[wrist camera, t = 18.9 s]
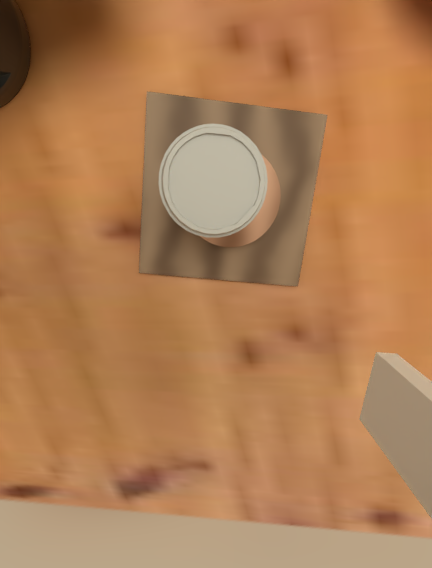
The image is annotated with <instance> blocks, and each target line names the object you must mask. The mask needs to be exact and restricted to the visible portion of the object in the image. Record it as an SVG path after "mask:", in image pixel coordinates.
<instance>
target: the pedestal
mask: <svg viewBox="0 0 432 568" xmlns="http://www.w3.org/2000/svg"><path fill="white" fill-rule="evenodd" d="M326 120H327V115H324V114H316V113H309V112H301V111H293V110H286V109H278V108H270V107H262V106H255V105H247V104H239V103H232V102H224V101H216V100H209V99H201V98H193V97H185V96H178V95H170V94H162V93H155V92H147V102H146V125H145V148H144V171H143V193H142V216H141V239H140V262H139V273H147V274H159V275H170V276H182V277H194V278H206V279H217V280H229V281H241V282H252V283H264V284H276V285H287V286H298V283H299V277H300V271H301V265H302V260H303V254H304V248H305V242H306V236H307V231H308V225H309V219H310V213H311V207H312V202H313V196H314V190H315V184H316V178H317V173H318V167H319V161H320V155H321V149H322V144H323V138H324V132H325V126H326ZM204 124H222V125H226V126H230V127H232V128H234V129H237V130H239V131H241V132H242V133H243V134H245V135H246V136H247V137H248V138H250V139H251V141H252V142H253V143H254V144H255V145H256V146H257V148H258V150H259V151H260V153H261V155H262V157H263V160H264V163H265V166H266V170H267V178H268V181H267V192H266V196H265V200H264V202H263V205H262V207H261V209H260V211H259V213H258V214H257V215H256V216H255V218H254V219H253V220H252V221H251V222H250V223H249V224H248V225H247V226H246V227H244V228H243V229H241V230H240V231H238V232H236V233H234V234H231V235H229V236H224V237H219V238H207V237H203V236H198V235H195V234H193V233H191V232H189V231H187V230H185V229H184V228H182V227H181V226H180V225H178V224H177V223H176V222H175V221H174V220H173V218H172V217H171V216H170V215H169V213H168V211H167V210H166V208H165V206H164V204H163V202H162V198H161V195H160V190H159V171H160V166H161V162H162V160H163V157H164V155H165V153H166V151H167V150H168V148H169V146H170V145H171V144H172V143H173V142H174V140H175V139H176V138H177V137H179V136H180V135H181V134H182V133H184V132H185V131H187V130H189V129H191V128H193V127H196V126H199V125H204Z"/></svg>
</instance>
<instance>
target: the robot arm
mask: <svg viewBox="0 0 432 568" xmlns="http://www.w3.org/2000/svg"><path fill="white" fill-rule="evenodd" d="M29 64H30V39H29V34H28V30H27V26H26V23H25V20H24V18H23V15H22V13H21V11H20V9H19V7H18V5H17V3H16V2H15V0H0V107H2V106H3V105H5V104H6V103H8V102H9V101H10V100H11V99H12V98H13V97H14V96H15V95H16V94H17V93H18V91H19V90H20V89H21V87H22V85H23V83H24V81H25V79H26V76H27V73H28V69H29ZM360 421H361V422H362V423H363V425H364V426H365V427H366V429H367V430H368V432H369V433H370V434H371V436H372V437H373V438H374V440H375V441H376V443H377V444H378V445H379V447H380V448H381V449H382V451H383V452H384V454H385V455H386V456H387V458H388V459H389V461H390V462H391V463H392V465H393V466H394V467H395V469H396V470H397V472H398V473H399V474H400V476H401V477H402V478H403V480H404V481H405V483H406V484H407V485H408V487H409V488H410V490H411V491H412V492H413V494H414V495H415V496H416V498H417V499H418V501H419V502H420V503H421V505H422V506H423V507H424V509H425V510H426V512H427V513H428V514H429V516H430V517H431V518H432V382H431V381H430V380H429V379H428V378H426V377H425V376H424V375H423V374H421V373H420V372H419V371H418V370H416V369H415V368H414V367H413V366H411V365H410V364H409V363H408V362H406V361H405V360H404V359H403V358H401V357H400V356H399V355H398V354H394V353H380V352H376V354H375V358H374V362H373V367H372V371H371V375H370V379H369V383H368V387H367V391H366V395H365V399H364V403H363V407H362V411H361V415H360Z"/></svg>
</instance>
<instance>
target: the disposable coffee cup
mask: <svg viewBox="0 0 432 568" xmlns="http://www.w3.org/2000/svg"><path fill="white" fill-rule="evenodd" d="M267 181H268V178H267V170H266V166H265V163H264V160H263V157H262V155H261V153H260V151H259V150H258V148H257V146H256V145H255V144H254V143H253V142H252V141H251V139H250V138H248V137H247V136H246V135H245V134H243V133H242V132H241V131H239V130H237V129H234V128H232V127H230V126H226V125H222V124H204V125H199V126H196V127H193V128H191V129H189V130H187V131H185V132H184V133H182V134H181V135H180V136H179V137H177V138H176V139H175V140H174V142H173V143H172V144H171V145H170V146H169V148H168V150H167V151H166V153H165V155H164V157H163V160H162V162H161V166H160V171H159V190H160V195H161V198H162V202H163V204H164V206H165V208H166V210H167V211H168V213H169V215H170V216H171V217H172V218H173V220H174V221H175V222H176V223H177V224H178V225H180V226H181V227H182V228H184V229H185V230H187V231H189V232H191V233H193V234H195V235H198V236H203V237H207V238H219V237H224V236H229V235H231V234H234V233H236V232H238V231H240V230H241V229H243V228H244V227H246V226H247V225H248V224H249V223H250V222H251V221H252V220H253V219H254V218H255V216H256V215H257V214H258V213H259V211H260V209H261V207H262V205H263V202H264V200H265V196H266V192H267Z"/></svg>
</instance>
